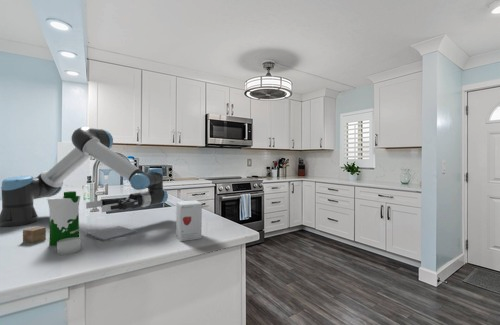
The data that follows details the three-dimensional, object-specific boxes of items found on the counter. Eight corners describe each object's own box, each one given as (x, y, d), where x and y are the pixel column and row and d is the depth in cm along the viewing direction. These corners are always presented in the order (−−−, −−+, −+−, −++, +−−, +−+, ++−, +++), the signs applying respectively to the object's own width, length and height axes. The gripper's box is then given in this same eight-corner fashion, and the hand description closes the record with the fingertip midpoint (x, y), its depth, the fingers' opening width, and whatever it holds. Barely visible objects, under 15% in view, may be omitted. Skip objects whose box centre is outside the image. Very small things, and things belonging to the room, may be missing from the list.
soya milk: (69, 245, 94) (69, 193, 94) (44, 246, 94) (43, 193, 93) (83, 238, 103) (82, 190, 103) (60, 238, 102) (59, 190, 102)
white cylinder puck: (53, 252, 88) (53, 241, 88) (75, 246, 94) (75, 236, 94) (62, 256, 84) (61, 245, 84) (84, 250, 90) (84, 239, 90)
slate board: (87, 235, 107) (87, 233, 107) (119, 227, 119) (119, 225, 119) (103, 241, 99) (103, 239, 99) (136, 232, 111) (136, 230, 111)
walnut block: (22, 242, 98) (22, 229, 98) (36, 238, 103) (36, 226, 103) (32, 243, 97) (32, 230, 97) (45, 239, 102) (45, 227, 102)
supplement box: (180, 242, 99) (180, 205, 99) (175, 235, 107) (175, 201, 107) (202, 238, 104) (202, 203, 103) (196, 232, 112) (196, 199, 111)
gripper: (154, 210, 118) (109, 219, 100) (125, 204, 132) (80, 212, 114) (154, 194, 118) (109, 201, 100) (125, 190, 131) (80, 196, 114)
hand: (93, 207), depth 107 cm, fingers open, 13 cm apart
